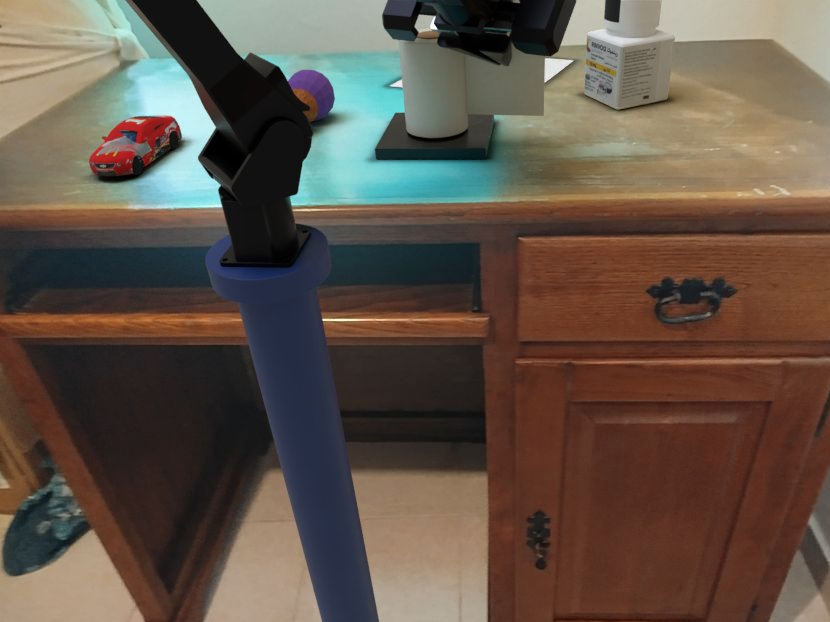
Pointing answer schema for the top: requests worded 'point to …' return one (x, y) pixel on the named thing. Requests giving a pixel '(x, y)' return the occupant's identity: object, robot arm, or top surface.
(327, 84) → the kendama
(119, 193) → the top surface
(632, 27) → the container
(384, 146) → the holder
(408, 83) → the towel roll
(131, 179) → the top surface
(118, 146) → the race car
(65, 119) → the top surface
